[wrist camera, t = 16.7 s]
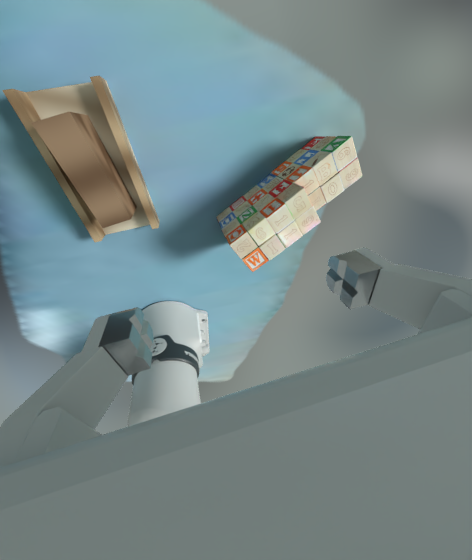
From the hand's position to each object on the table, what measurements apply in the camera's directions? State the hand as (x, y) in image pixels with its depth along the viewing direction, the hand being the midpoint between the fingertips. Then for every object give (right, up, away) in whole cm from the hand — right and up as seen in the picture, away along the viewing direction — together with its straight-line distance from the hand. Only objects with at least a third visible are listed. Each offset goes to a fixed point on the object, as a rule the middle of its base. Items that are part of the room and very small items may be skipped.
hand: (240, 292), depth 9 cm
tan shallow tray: (-20, +17, +22) cm, 34 cm away
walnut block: (-19, +16, +21) cm, 33 cm away
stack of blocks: (+6, +17, +30) cm, 35 cm away
